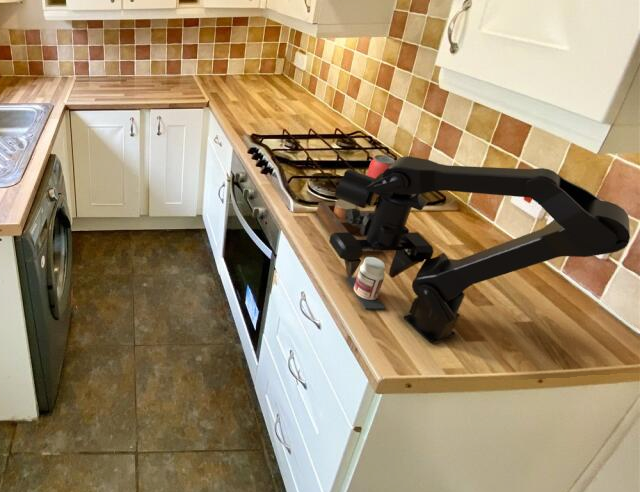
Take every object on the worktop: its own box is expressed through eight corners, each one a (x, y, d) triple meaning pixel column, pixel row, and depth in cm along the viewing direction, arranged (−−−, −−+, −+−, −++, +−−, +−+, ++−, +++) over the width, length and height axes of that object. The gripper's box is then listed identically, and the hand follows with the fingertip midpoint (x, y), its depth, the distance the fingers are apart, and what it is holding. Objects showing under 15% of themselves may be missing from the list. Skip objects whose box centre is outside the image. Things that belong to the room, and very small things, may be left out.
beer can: (383, 188, 131) (393, 155, 126) (388, 200, 125) (400, 165, 120) (360, 186, 132) (369, 152, 127) (365, 196, 127) (375, 162, 122)
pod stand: (348, 213, 119) (352, 201, 117) (382, 254, 103) (387, 241, 101) (315, 213, 119) (318, 202, 117) (344, 254, 103) (348, 241, 101)
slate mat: (384, 309, 87) (384, 308, 87) (365, 309, 87) (365, 308, 87) (363, 278, 95) (363, 277, 95) (345, 278, 95) (346, 277, 95)
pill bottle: (369, 284, 93) (379, 255, 90) (381, 300, 89) (392, 270, 85) (348, 284, 93) (357, 255, 90) (360, 301, 89) (370, 271, 85)
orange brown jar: (354, 227, 113) (360, 208, 110) (339, 230, 112) (344, 211, 109) (341, 217, 117) (346, 198, 114) (326, 220, 116) (331, 200, 113)
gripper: (410, 195, 90) (390, 251, 96) (325, 195, 90) (311, 251, 96) (446, 226, 80) (421, 286, 86) (351, 226, 80) (333, 286, 86)
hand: (369, 276), depth 89 cm, fingers open, 9 cm apart
